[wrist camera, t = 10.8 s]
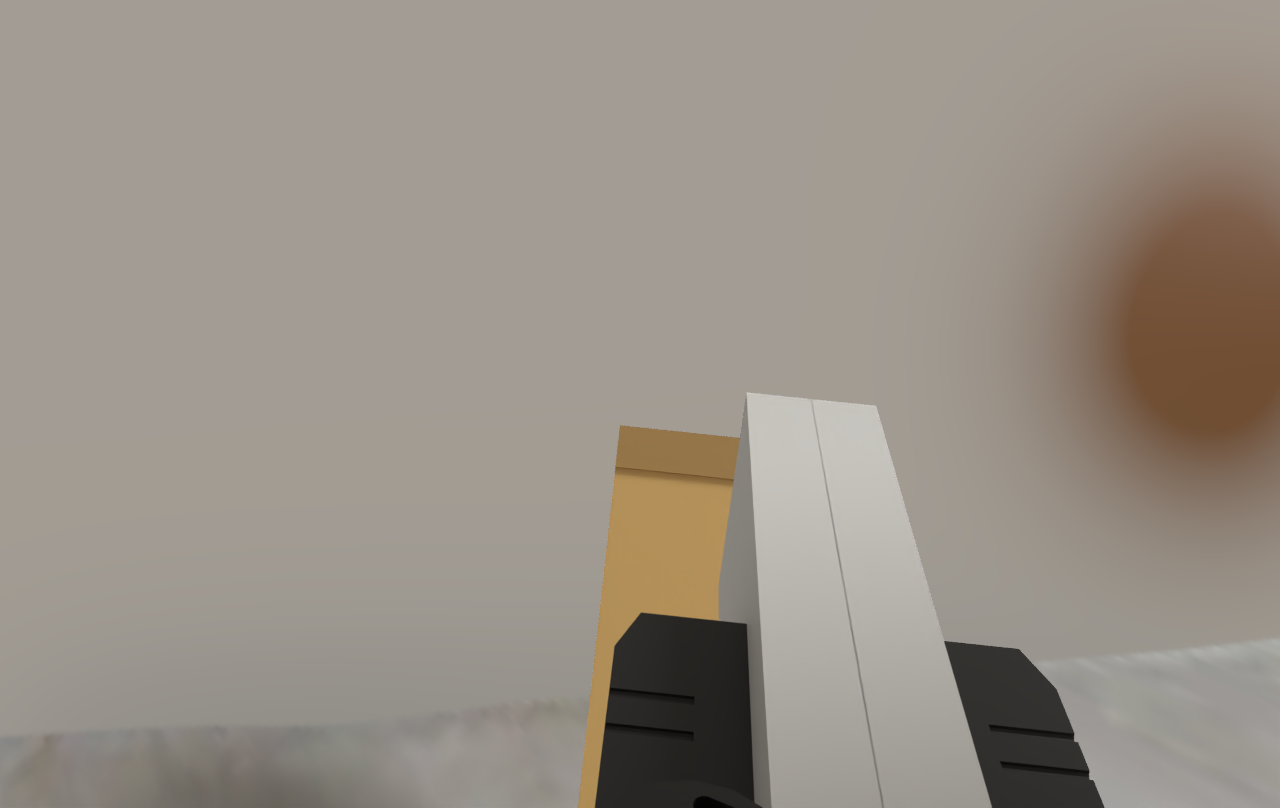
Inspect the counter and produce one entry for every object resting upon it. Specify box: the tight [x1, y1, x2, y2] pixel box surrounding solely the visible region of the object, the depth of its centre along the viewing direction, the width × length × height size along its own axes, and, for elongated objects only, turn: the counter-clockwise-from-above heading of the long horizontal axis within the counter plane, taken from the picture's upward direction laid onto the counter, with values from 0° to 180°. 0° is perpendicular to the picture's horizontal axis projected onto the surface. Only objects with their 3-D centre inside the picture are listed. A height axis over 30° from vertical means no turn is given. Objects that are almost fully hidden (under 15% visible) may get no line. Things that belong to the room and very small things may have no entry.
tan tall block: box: [578, 426, 740, 808], centre depth 42 cm, size 5×2×18 cm
